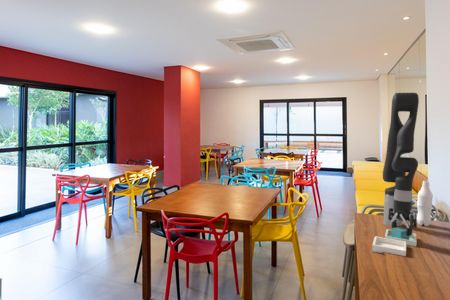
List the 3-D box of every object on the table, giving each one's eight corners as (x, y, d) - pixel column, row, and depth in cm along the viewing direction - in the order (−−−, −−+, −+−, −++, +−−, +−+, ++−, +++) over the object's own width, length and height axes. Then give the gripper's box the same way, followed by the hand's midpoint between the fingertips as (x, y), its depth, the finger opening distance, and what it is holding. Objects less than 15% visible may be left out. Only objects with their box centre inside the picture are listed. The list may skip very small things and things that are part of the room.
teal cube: (391, 238, 146) (392, 228, 146) (400, 237, 148) (401, 227, 147) (400, 241, 141) (400, 231, 141) (409, 241, 143) (409, 230, 142)
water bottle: (425, 223, 174) (427, 180, 172) (434, 227, 167) (436, 182, 165) (413, 223, 174) (415, 180, 172) (421, 227, 167) (424, 182, 165)
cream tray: (374, 242, 142) (375, 236, 142) (405, 248, 136) (406, 241, 136) (372, 251, 132) (372, 244, 131) (405, 258, 125) (406, 251, 125)
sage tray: (386, 234, 153) (386, 229, 153) (415, 239, 147) (415, 233, 146) (384, 242, 142) (384, 236, 142) (416, 248, 136) (416, 241, 136)
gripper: (422, 202, 137) (420, 237, 138) (397, 195, 151) (395, 227, 152) (409, 202, 135) (407, 238, 136) (384, 196, 149) (383, 228, 150)
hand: (401, 232), depth 144 cm, fingers open, 8 cm apart
